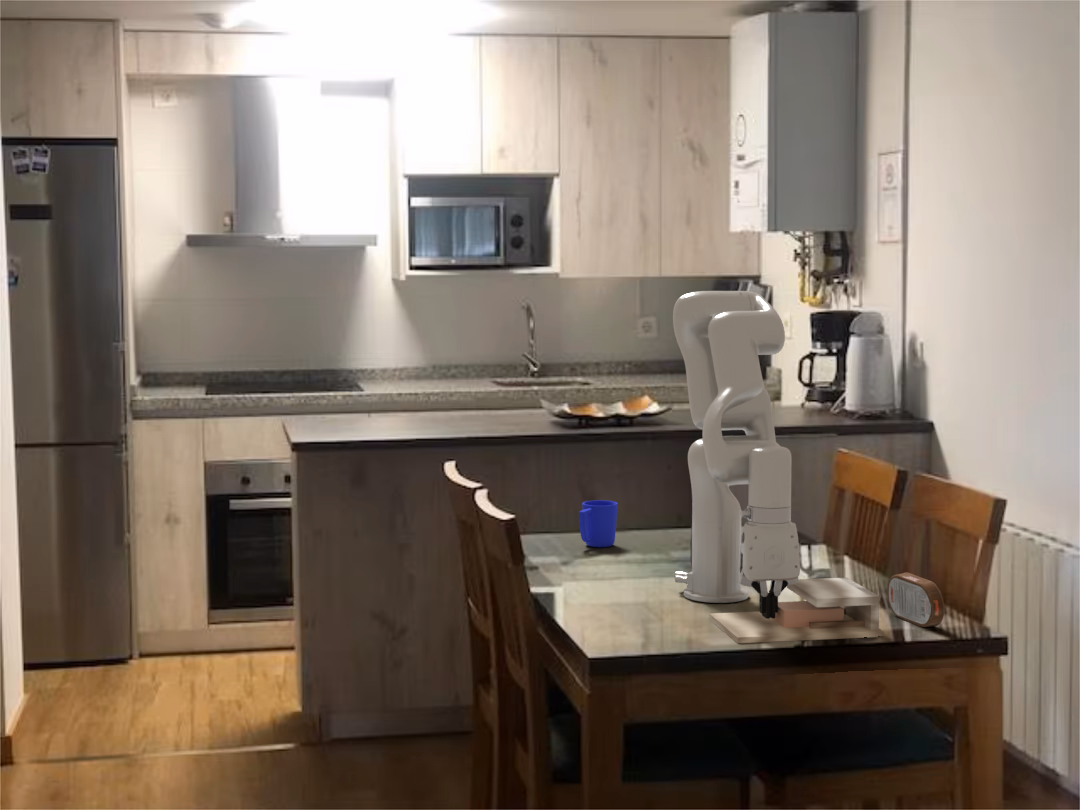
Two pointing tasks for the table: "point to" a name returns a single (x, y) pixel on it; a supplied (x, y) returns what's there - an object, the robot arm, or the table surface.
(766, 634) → the shelf
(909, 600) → the tin
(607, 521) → the mug
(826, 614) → the peach pink brick
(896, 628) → the table surface
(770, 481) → the robot arm
